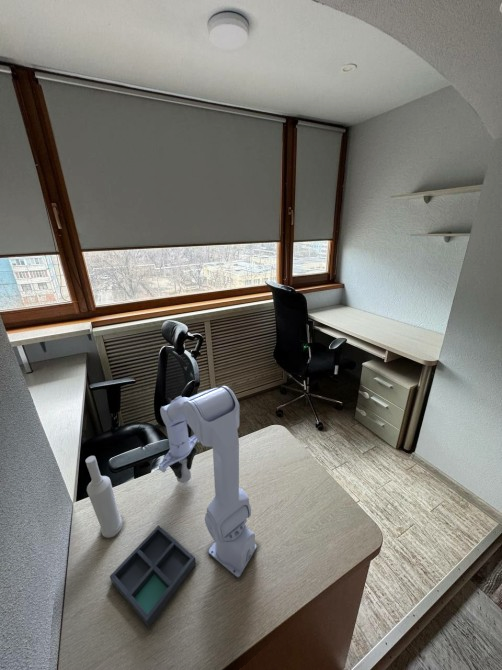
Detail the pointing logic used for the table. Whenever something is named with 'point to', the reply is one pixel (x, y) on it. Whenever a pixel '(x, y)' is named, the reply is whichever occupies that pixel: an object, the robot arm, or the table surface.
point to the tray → (153, 574)
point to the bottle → (103, 500)
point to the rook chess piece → (184, 471)
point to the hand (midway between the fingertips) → (183, 472)
